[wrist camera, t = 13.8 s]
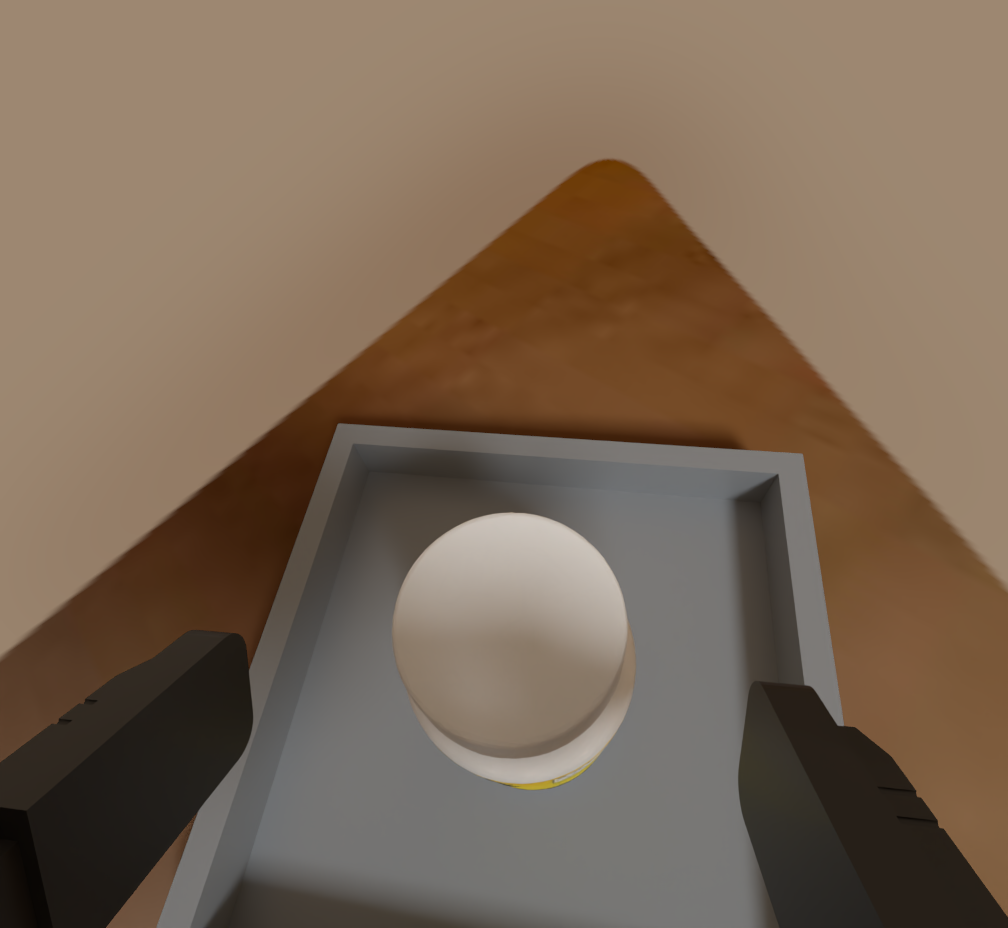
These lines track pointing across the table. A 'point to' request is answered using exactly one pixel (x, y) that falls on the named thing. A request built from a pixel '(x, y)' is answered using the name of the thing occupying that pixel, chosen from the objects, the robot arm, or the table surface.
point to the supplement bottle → (515, 649)
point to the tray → (473, 799)
